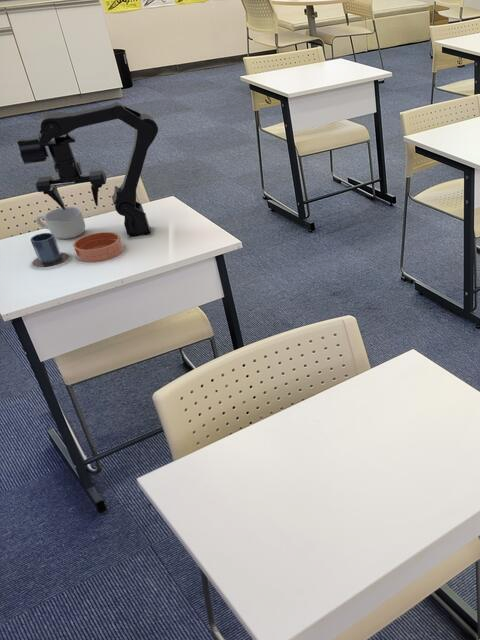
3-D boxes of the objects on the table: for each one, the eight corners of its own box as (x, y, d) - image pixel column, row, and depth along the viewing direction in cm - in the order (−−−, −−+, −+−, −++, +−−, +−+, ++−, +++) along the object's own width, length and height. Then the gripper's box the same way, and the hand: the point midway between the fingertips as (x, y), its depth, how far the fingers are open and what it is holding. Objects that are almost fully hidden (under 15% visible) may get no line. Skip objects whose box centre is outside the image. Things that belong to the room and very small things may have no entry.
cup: (63, 253, 216) (54, 231, 212) (60, 262, 211) (51, 239, 207) (41, 256, 214) (32, 234, 210) (38, 265, 209) (29, 243, 205)
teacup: (95, 229, 232) (87, 206, 227) (76, 243, 223) (68, 220, 219) (55, 228, 233) (47, 205, 229) (35, 242, 224) (26, 218, 220)
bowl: (125, 242, 224) (121, 229, 221) (123, 259, 214) (118, 246, 211) (80, 248, 220) (75, 235, 218) (75, 266, 210) (70, 253, 207)
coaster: (71, 252, 218) (70, 250, 218) (67, 265, 211) (67, 264, 210) (35, 257, 215) (35, 255, 215) (30, 271, 208) (30, 269, 207)
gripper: (99, 146, 217) (115, 194, 226) (32, 153, 211) (51, 202, 220) (96, 157, 208) (112, 207, 217) (27, 165, 203) (46, 215, 212)
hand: (81, 207), depth 217 cm, fingers open, 9 cm apart
